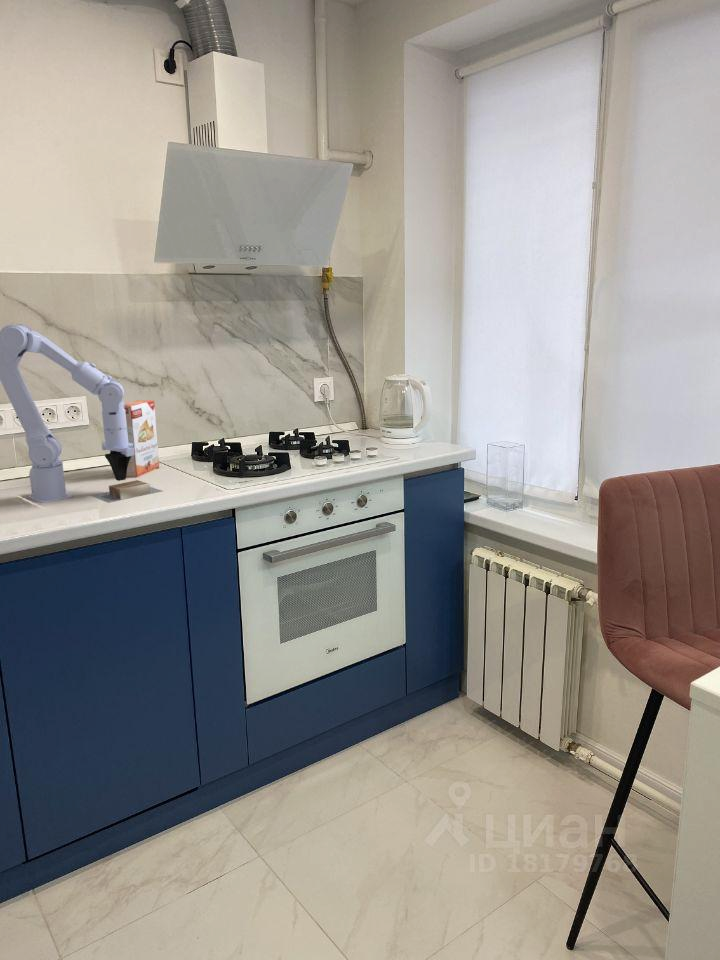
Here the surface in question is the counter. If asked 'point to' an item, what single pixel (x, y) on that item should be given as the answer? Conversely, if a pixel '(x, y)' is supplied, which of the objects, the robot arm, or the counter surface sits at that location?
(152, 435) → the cracker box
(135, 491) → the slab
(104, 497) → the mat
